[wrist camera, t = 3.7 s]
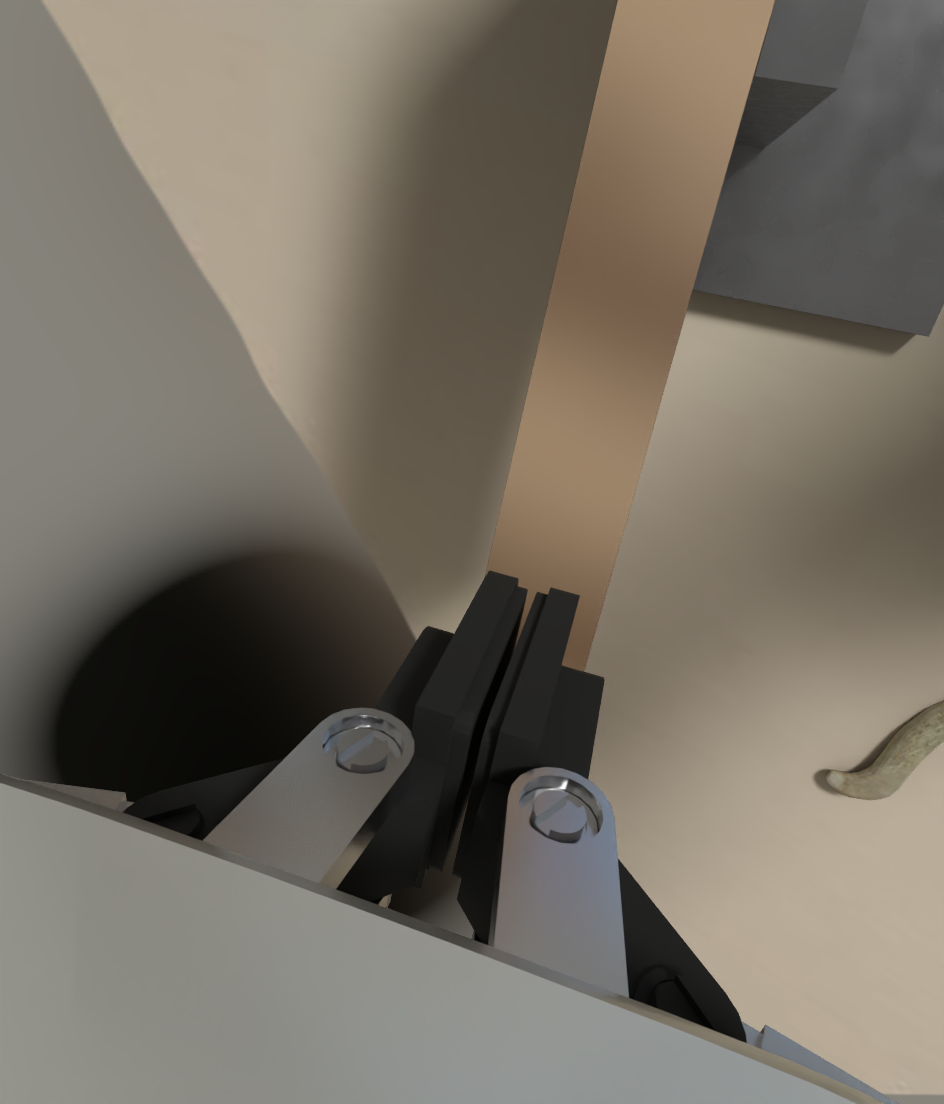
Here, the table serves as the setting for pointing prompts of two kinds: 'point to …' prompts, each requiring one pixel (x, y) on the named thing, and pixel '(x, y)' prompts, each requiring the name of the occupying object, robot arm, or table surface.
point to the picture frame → (622, 291)
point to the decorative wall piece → (894, 758)
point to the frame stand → (839, 167)
